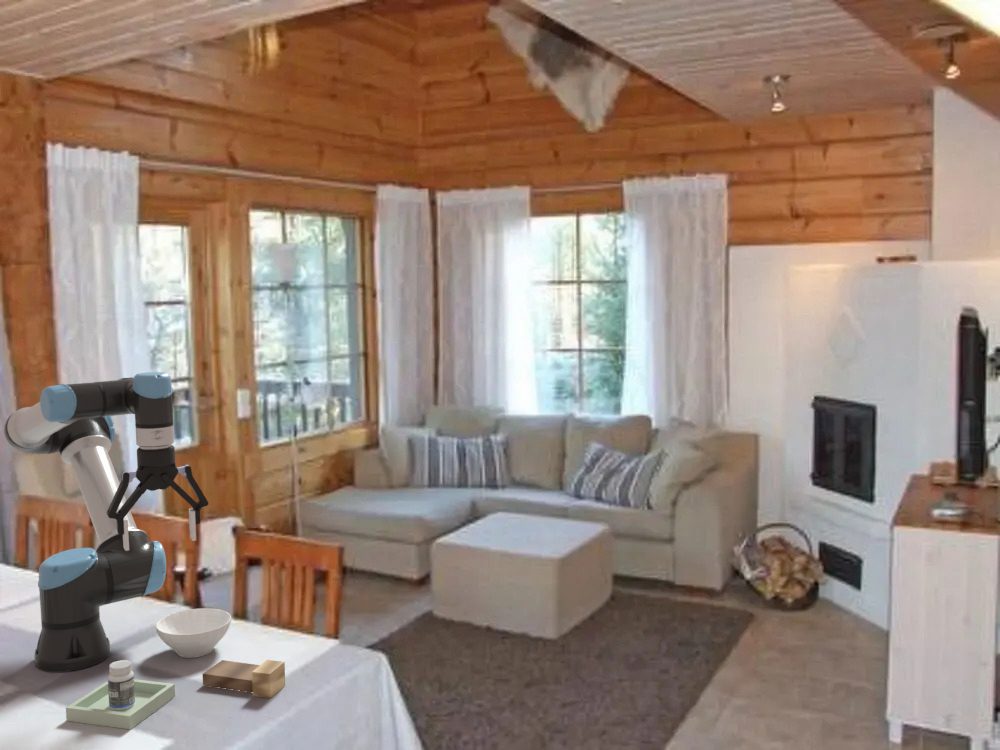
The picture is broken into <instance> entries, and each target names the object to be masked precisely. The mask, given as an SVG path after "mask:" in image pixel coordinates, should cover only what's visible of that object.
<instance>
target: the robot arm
mask: <svg viewBox="0 0 1000 750" xmlns="http://www.w3.org/2000/svg"><path fill="white" fill-rule="evenodd" d="M171 378H172V377H171V376H170V374H169V373H167V372H162V371H151V372H139V373H137V374H135V375H134V376H133V377H122V378H118V379H116V380H105V381H95V382H85V383H84V382H81V383H69V384H64V383H61V384H56V385H51V386H46V387H44V388H43V389H42V391H41V394H40V397H39V399H40V401H38V402H37V403H35V404H34V405H32V406H26V407H22V408H19V409H18V410H16V411H14V412H12V414H10V415H9V416H8V418H7V420H6V421H5V424H4V427H3V434H4V437H5V439H6V441H7V442H8V444H9V445H10V446H11V447H12V448H14V449H16V450H17V451H19V452H22V453H25V454H29V455H46V454H48V455H50V454H56V453H57V454H58V453H59V455H60V457H61V459H62V461H63V462H64V464H67V465H70V466H71V468H72V471H73V473H74V476H75V478H76V481H77V484H78V486H79V489H80V490H79V491H80V493H81V495H82V498H83V500H84V503H85V507H86V509H87V512H88V515H89V517H90V521H91V523H92V525H93V528H94V531H95V533H96V536H97V539H98V543H99V544H98V545H97V547H96V548H95V549H94V548H92V547H80V548H70V549H67V550H63V551H59V552H57V553H54V554H53V555H50V556H49V557H47V558H46V559H44V561H42V563H41V564H39V565H40V566H39V568H38V583H37V586H38V589H39V602H40V603H39V605H40V606H39V607H40V622H41V631H40V633H39V638H38V641H37V643H36V644H37V645H36V649H35V651H34V665H35V667H36V668H37V669H39V670H40V671H43V672H50V673H51V672H55V673H61V672H64V673H65V672H71V671H77V670H82V669H85V668H89V667H92V666H95V665H97V664H99V663H101V662H103V661H105V660H106V659H107V658H108V657H109V656H110V654H111V644H110V640H109V638H108V637H107V634H106V631H105V629H104V627H103V624H102V622H101V615H100V607H102V606H105V605H109V604H113V603H119V602H123V601H126V600H130V599H131V600H132V599H135V598H141V597H142V598H143V597H144V596H145V597H146V595H150V594H152V593H153V594H155V593H156V592H158V591H159V590H160V589H161V588H162V587H163V585H164V584H165V583H164V582H165V581H166V574H167V558H166V557H167V556H166V553H165V548H164V546H163V544H162V543H161V542H160V541H159V540H152V541H150V539H149V536H148V533H147V532H146V531H144V530H143V529H138V527H137V524H136V522H135V520H134V517H133V515H132V512H131V509H132V508H133V507H134V506H135V504H136V503H137V502H138V501H139V499H140V498H141V497H142V495H144V494H145V492H146V491H150V492H154V491H157V490H161V491H162V490H167V489H168V488H170V487H171V489H173V490H174V491H175V492H176V493H177V494H178V495H179V496H180V497H181V498H182V499H183V500H184V501H186V503H188V504H189V505H190V506H191V508H188V523H189V539H190V540H191V542H195V541H197V526H196V525H200V524H201V510H202V508H204V507H207V506H208V505H209V501H208V500H207V497H206V496H205V494H204V492H203V491H202V489H201V487H200V485H199V484H198V482H197V481H196V480H195V478H194V476H193V471H192V467H191V466H190V465H189V464H187V463H186V464H185V463H184V465H183V466H178V467H177V465H176V451H175V449H176V447H175V446H174V445H173V444H174V443H175V433H174V430H175V429H174V411H173V410H174V405H173V392H174V391H173V390H174V389H173V386H172V385H173V384H172V379H171ZM124 415H134V418H135V419H134V423H135V442H136V445H137V447H138V448H137V449H136V460H137V461H136V463H137V464H136V465H137V469H136V471H127V470H123V471H121V475H120V481H119V478H118V475H117V473H116V470H115V468H114V464H113V462H112V460H111V458H110V455H109V452H110V450H111V448H112V445H113V442H114V440H115V437H116V436H115V435H116V430H115V429H116V428H115V427H114V424H115V423H114V420H113V417H114V416H124ZM179 473H180V475H181V476H182V477H184V478H185V479H186V480H187V483H188V484H189V486H190V487H191V489H192V491H193V493H194V494H195V496H196V497H197V499H198V501H195V499H193V498H192V497H191V496H190V495H189V494H188V493H187V492H186V491H185V490H184V489H183V488H182V487H180V485H179V484H178V483H176V482H175V479H176V477H177V476H178V474H179ZM135 478H136V479H137V481H139V483H138V484H137V486H136V487H135V489H134V490H133V492H132V493H131V494H130V495H129V497H128V498H127V499H126V496H125V495H126V491H127V490H128V488H129V484H130V483H132V482H133V480H134V479H135Z"/></svg>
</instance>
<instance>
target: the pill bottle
mask: <svg viewBox="0 0 1000 750" xmlns="http://www.w3.org/2000/svg"><path fill="white" fill-rule="evenodd" d="M132 664H133V663H132V662H131V661H130V660H127V659H125V660H124V659H123V660H122V659H121V660H117V661H113V662H111V663H109V665H108V666H109V669H108V670H109V674H108V676H107V681H108V692H109V707H110V708H111V709H112V710H125V709H128V708H130V707H132V706H133V705H134V704H135V688H134V679H135V673H134V671H133V668H132V667H133V665H132Z"/></svg>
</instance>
